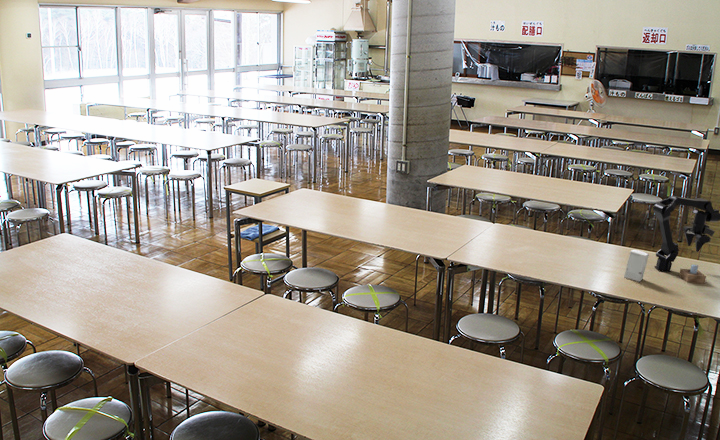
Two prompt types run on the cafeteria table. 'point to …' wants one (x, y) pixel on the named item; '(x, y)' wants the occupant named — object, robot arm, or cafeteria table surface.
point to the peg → (693, 269)
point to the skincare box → (636, 265)
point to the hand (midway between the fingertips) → (693, 248)
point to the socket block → (692, 276)
